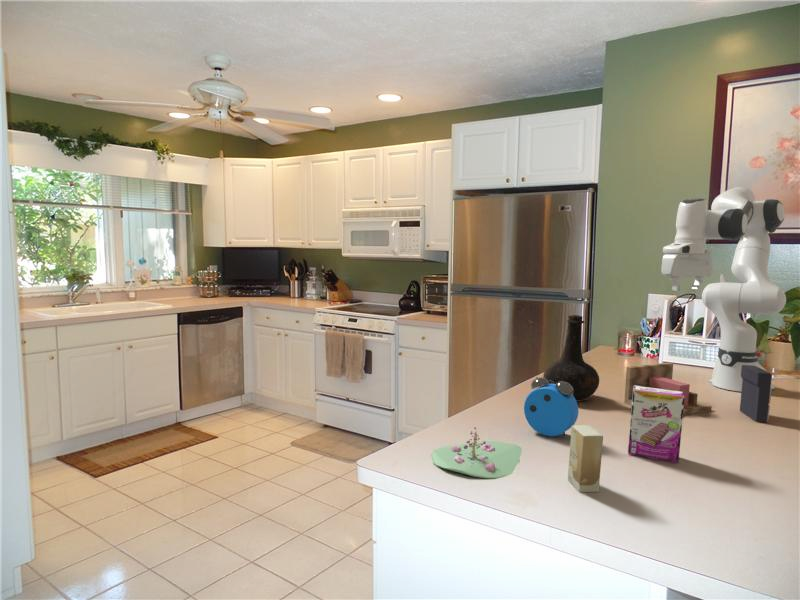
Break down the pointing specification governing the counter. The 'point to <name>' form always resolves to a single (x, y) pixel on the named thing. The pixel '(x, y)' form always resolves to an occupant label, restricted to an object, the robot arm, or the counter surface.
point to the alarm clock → (551, 407)
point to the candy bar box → (656, 423)
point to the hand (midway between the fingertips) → (685, 290)
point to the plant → (479, 458)
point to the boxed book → (670, 386)
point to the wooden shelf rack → (644, 372)
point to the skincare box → (585, 458)
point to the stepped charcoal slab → (755, 393)
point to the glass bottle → (574, 364)
